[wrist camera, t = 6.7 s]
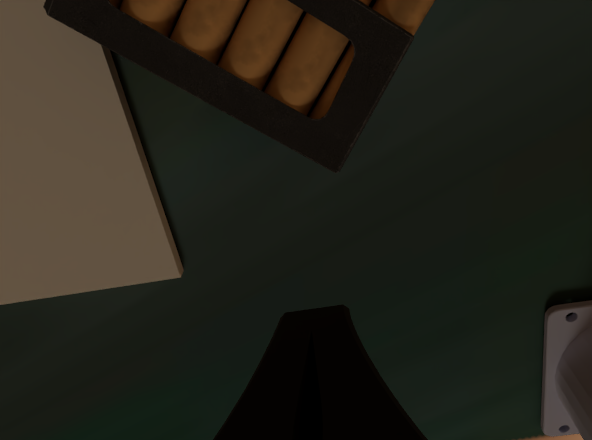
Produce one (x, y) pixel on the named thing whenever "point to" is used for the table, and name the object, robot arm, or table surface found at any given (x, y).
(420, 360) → the table surface
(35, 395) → the table surface
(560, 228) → the table surface
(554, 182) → the table surface
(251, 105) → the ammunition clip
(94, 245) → the mat
